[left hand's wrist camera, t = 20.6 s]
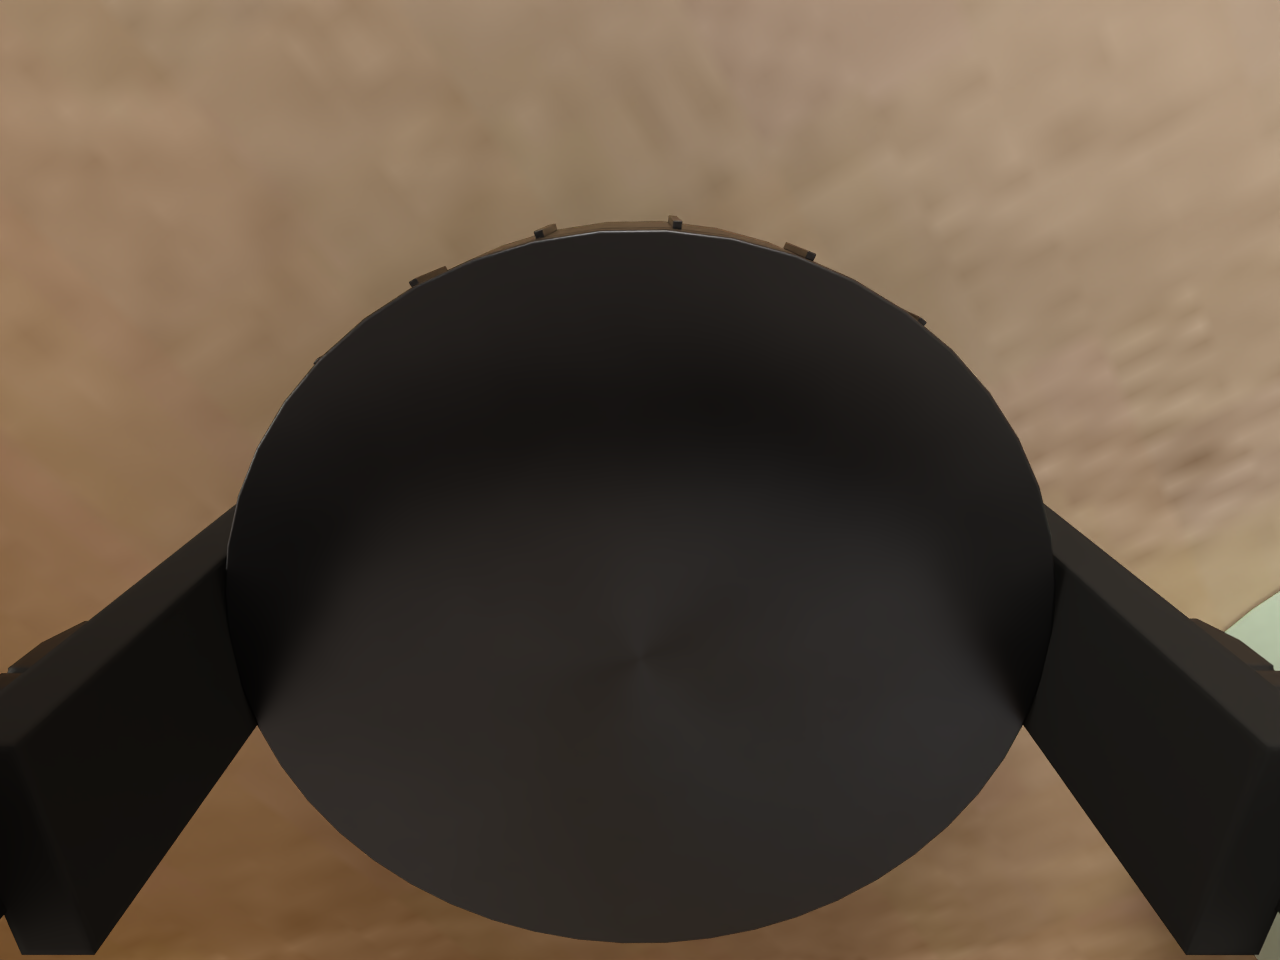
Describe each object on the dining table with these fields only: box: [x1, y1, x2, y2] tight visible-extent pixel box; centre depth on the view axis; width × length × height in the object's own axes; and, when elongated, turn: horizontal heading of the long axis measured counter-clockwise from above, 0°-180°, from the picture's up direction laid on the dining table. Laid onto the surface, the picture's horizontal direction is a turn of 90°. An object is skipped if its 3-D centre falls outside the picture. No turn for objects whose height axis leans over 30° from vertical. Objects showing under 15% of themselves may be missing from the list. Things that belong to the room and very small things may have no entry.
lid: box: [225, 216, 1056, 943], centre depth 11 cm, size 11×12×2 cm
